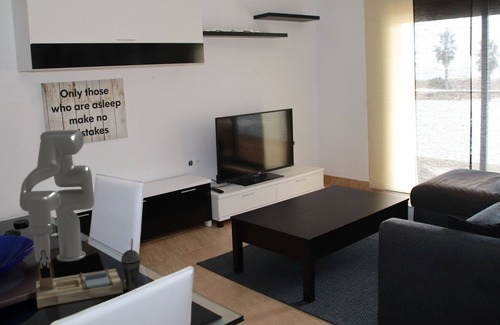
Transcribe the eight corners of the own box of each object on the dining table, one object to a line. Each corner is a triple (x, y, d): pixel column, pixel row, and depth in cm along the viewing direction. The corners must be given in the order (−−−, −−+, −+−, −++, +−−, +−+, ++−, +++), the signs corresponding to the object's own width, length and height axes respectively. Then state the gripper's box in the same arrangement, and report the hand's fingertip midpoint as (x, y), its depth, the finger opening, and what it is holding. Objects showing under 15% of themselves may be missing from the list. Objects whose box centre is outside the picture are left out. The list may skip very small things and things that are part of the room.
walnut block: (40, 286, 195) (37, 261, 193) (52, 284, 196) (50, 259, 195) (40, 290, 190) (37, 264, 189) (53, 288, 192) (50, 263, 191)
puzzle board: (37, 289, 201) (36, 279, 200) (115, 276, 212) (115, 267, 211) (37, 308, 184) (36, 297, 184) (123, 293, 196) (122, 282, 195)
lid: (84, 280, 199) (84, 274, 199) (107, 276, 202) (106, 270, 202) (86, 288, 191) (86, 282, 191) (110, 284, 194) (110, 278, 194)
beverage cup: (119, 289, 199) (115, 239, 196) (135, 284, 204) (132, 235, 201) (129, 294, 194) (126, 243, 191) (146, 289, 199) (142, 238, 196)
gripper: (30, 224, 196) (34, 267, 199) (30, 237, 180) (34, 283, 183) (51, 221, 199) (55, 263, 202) (53, 234, 183) (57, 279, 186)
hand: (45, 273), depth 193 cm, fingers open, 9 cm apart
